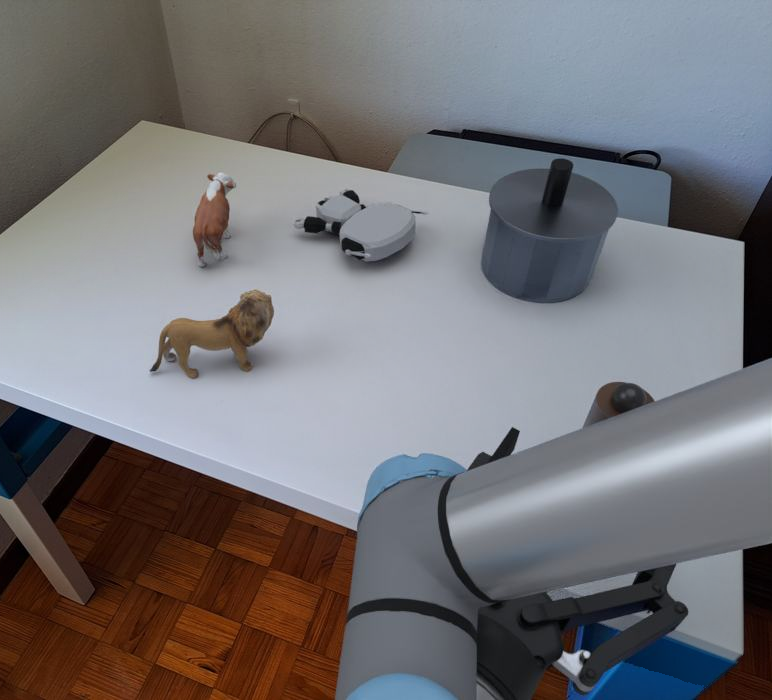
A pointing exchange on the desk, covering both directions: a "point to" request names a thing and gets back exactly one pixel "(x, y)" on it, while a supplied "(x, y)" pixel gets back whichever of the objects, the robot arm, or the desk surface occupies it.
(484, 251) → the pot
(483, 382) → the desk surface
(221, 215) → the bull figurine
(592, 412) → the pepper mill
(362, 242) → the robot toy
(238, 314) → the lion figurine
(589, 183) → the pot lid
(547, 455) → the robot arm
